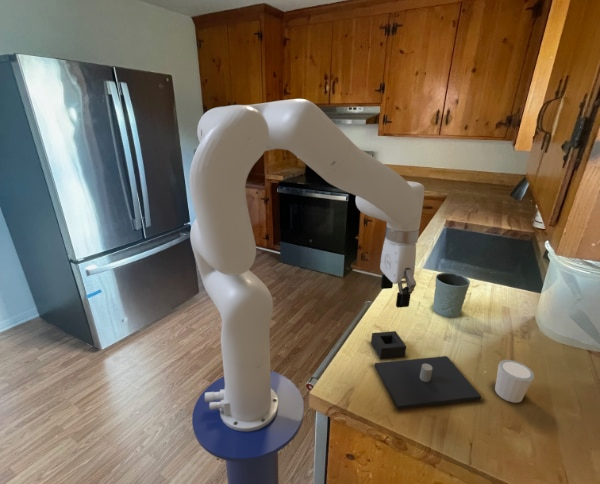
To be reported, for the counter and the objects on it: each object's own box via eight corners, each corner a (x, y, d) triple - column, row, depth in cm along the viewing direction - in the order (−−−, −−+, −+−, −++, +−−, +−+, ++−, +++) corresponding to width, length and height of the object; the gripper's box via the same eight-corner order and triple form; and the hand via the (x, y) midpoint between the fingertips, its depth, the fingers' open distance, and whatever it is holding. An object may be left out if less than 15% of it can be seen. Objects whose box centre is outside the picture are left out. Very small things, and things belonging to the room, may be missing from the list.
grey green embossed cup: (463, 307, 113) (470, 276, 108) (462, 322, 104) (470, 288, 100) (431, 300, 117) (437, 270, 112) (428, 314, 109) (434, 281, 104)
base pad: (397, 410, 72) (400, 393, 70) (374, 366, 85) (376, 351, 83) (480, 400, 75) (484, 384, 73) (446, 359, 88) (449, 345, 86)
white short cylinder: (500, 378, 81) (507, 355, 79) (531, 396, 76) (540, 372, 73) (486, 390, 78) (493, 366, 75) (517, 409, 72) (525, 384, 70)
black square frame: (380, 359, 87) (381, 348, 86) (370, 343, 94) (372, 332, 92) (404, 357, 88) (406, 346, 87) (394, 341, 95) (395, 331, 93)
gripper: (373, 224, 86) (368, 283, 93) (402, 248, 70) (394, 316, 77) (400, 223, 87) (393, 281, 94) (435, 246, 71) (424, 313, 78)
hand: (393, 296), depth 85 cm, fingers open, 9 cm apart
